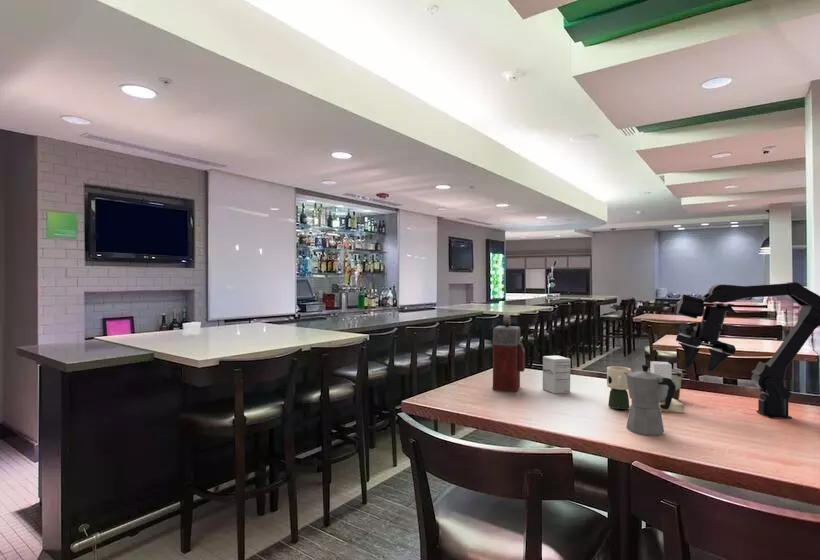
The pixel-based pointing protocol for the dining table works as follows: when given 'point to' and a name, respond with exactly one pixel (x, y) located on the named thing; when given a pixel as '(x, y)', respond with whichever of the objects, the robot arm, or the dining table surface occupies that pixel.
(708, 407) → the dining table surface
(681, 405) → the stand
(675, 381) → the food container
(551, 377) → the supplement box
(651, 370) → the block
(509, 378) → the red thermos flask
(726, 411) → the dining table surface
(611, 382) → the character mug
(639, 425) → the coffeepot
